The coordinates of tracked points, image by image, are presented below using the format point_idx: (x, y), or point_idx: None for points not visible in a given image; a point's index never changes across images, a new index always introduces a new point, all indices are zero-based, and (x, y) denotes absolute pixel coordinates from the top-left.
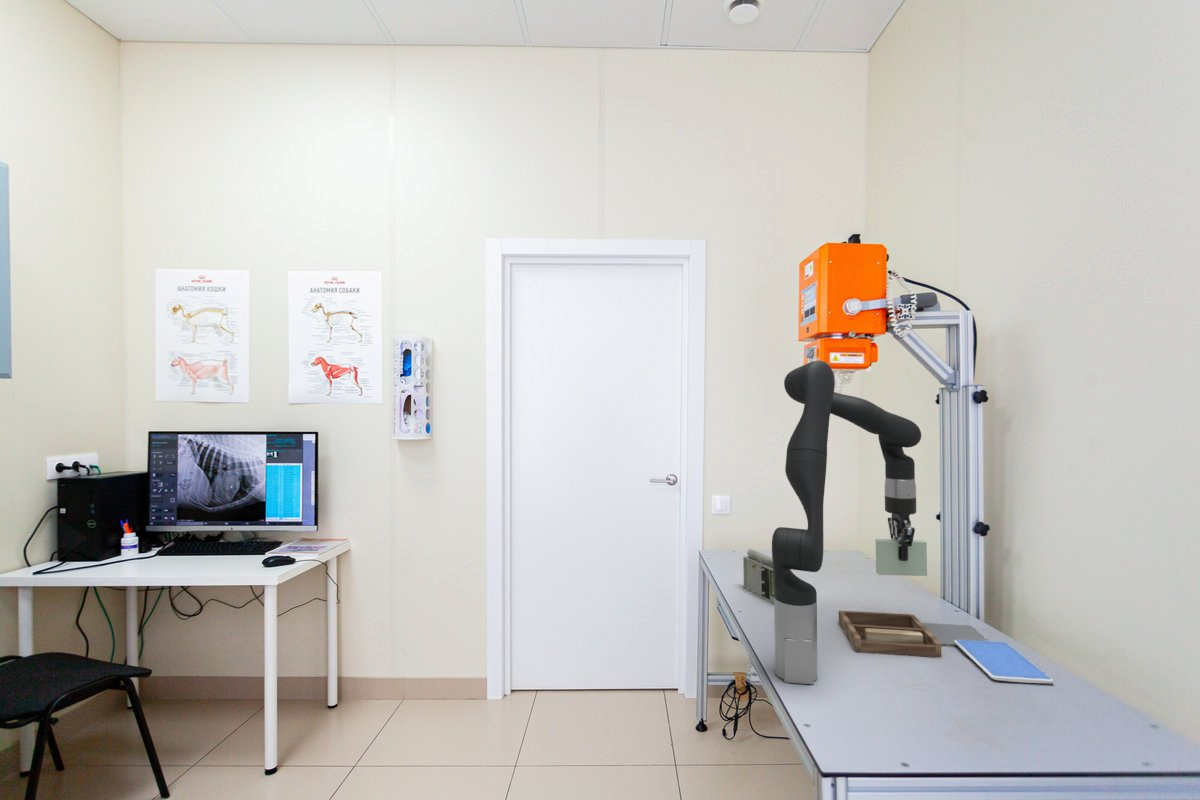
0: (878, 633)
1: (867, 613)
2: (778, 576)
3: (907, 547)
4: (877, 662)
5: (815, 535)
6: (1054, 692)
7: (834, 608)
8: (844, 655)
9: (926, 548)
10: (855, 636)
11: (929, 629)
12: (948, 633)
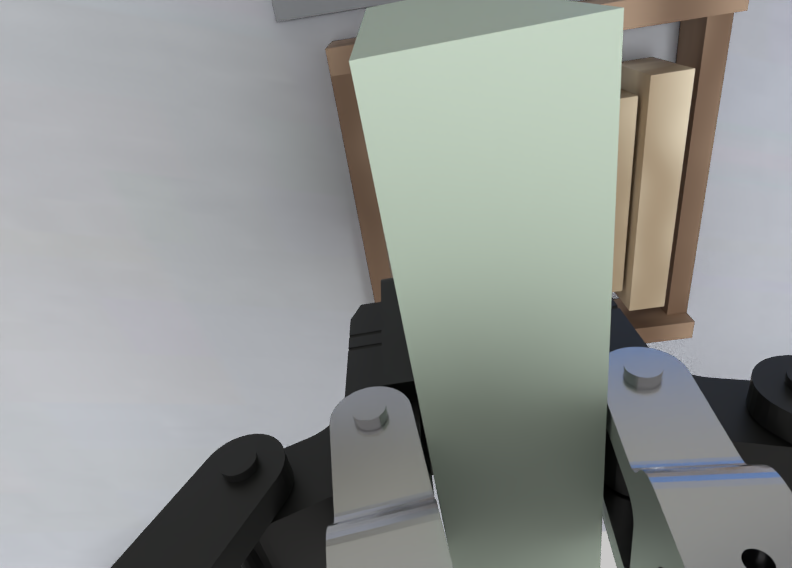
0: (667, 263)
1: (390, 274)
2: None
3: (611, 351)
4: (751, 249)
5: None
6: None
7: (221, 348)
8: (693, 340)
9: (563, 2)
10: (675, 337)
11: None
12: None
